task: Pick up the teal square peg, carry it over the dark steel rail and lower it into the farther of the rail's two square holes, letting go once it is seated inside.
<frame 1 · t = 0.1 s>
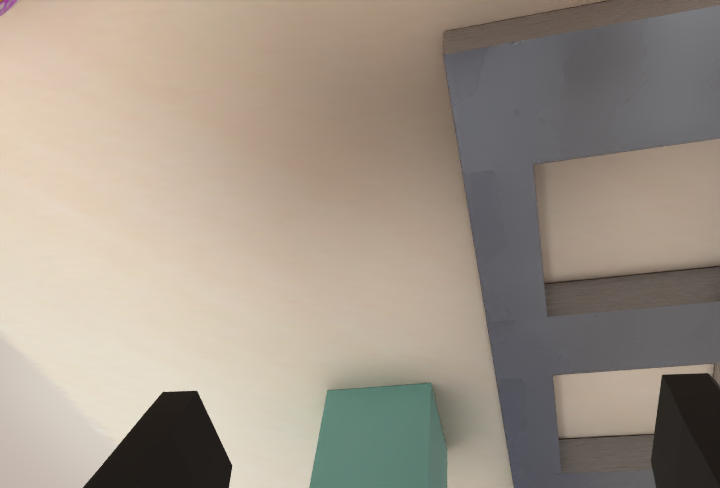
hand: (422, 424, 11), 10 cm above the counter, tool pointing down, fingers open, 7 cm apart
teal peg: (388, 420, 27), on the counter
steel rail: (631, 306, 22), on the counter
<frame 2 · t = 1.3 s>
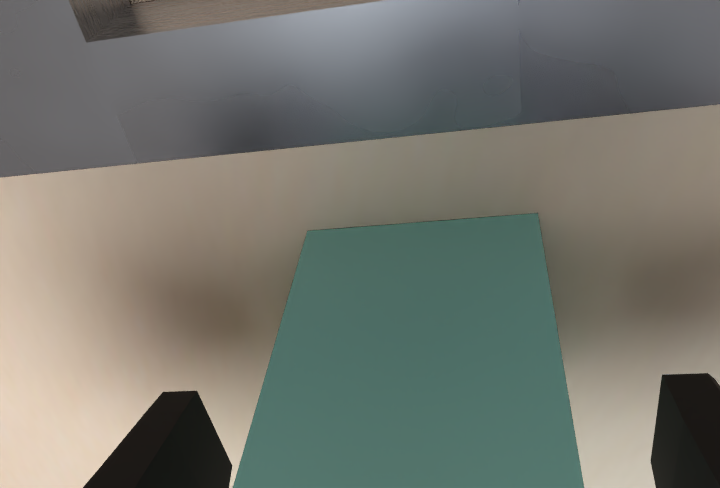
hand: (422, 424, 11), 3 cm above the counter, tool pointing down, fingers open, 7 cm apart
teal peg: (431, 307, 13), on the counter
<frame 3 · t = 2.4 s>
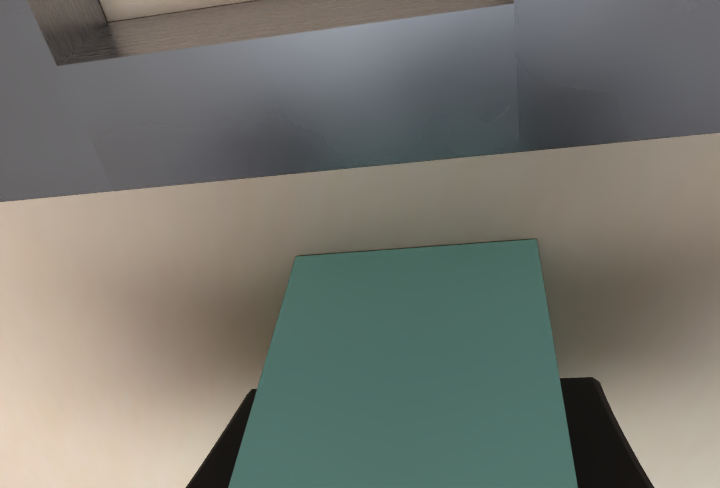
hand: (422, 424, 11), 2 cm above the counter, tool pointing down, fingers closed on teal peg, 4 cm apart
teal peg: (425, 334, 12), on the counter, touching gripper
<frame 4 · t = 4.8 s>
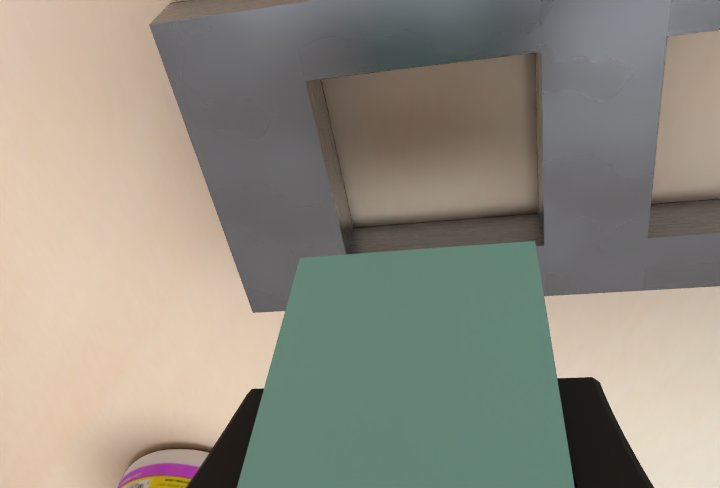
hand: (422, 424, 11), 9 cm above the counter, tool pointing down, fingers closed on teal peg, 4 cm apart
teal peg: (427, 333, 13), point 7 cm above the counter, touching gripper
steel rail: (588, 123, 17), on the counter
supplement bottle: (201, 483, 30), on the counter
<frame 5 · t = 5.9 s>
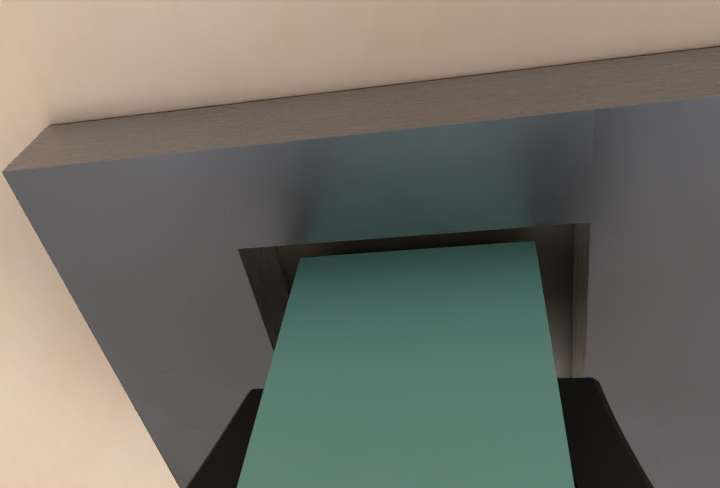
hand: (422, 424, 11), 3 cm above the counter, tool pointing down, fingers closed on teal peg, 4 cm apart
teal peg: (427, 332, 13), point 1 cm above the counter, touching gripper
steel rail: (647, 289, 12), on the counter
when the fingers open (3 cm above the counter, at t = 7.0 s): teal peg stays where it is, resting in steel rail.
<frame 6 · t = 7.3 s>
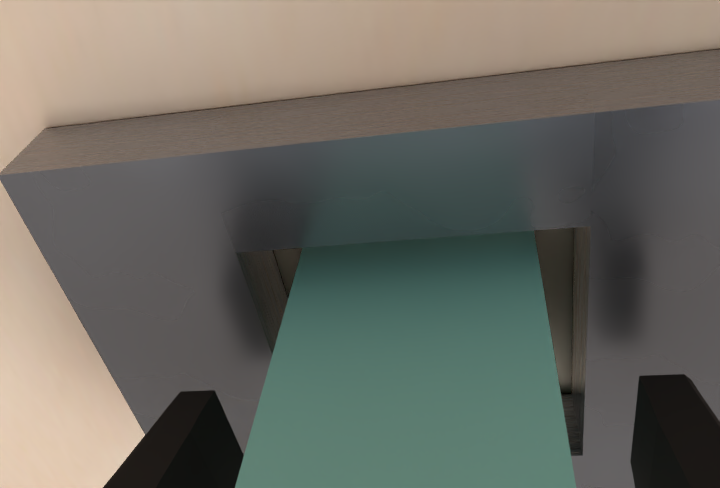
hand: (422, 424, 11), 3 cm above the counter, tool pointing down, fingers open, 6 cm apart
teal peg: (428, 309, 13), resting in steel rail
steel rail: (648, 292, 12), on the counter
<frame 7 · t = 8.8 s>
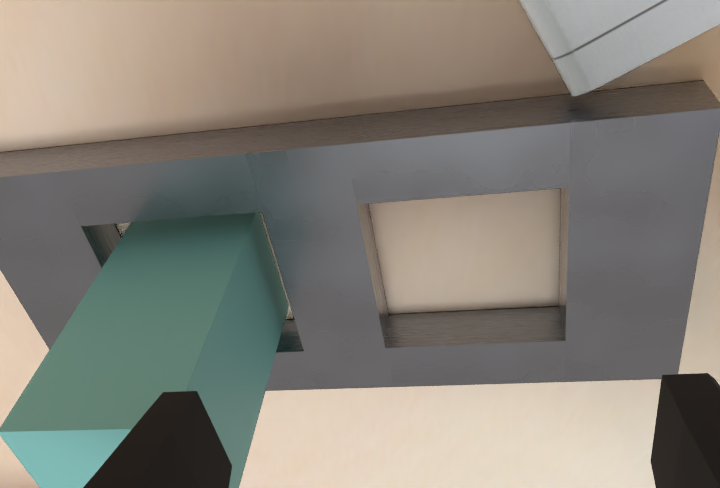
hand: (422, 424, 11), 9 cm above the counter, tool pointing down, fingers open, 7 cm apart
teal peg: (214, 263, 22), resting in steel rail
steel rail: (334, 252, 21), on the counter
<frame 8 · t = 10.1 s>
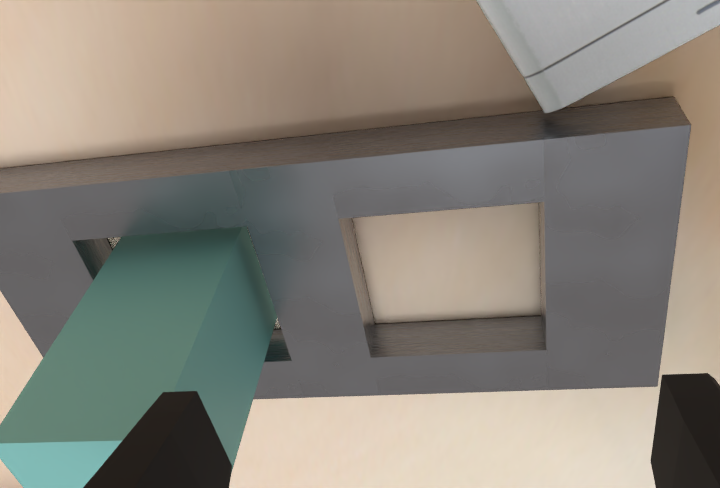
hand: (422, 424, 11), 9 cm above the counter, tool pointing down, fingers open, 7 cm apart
teal peg: (203, 275, 22), resting in steel rail
steel rail: (320, 264, 21), on the counter
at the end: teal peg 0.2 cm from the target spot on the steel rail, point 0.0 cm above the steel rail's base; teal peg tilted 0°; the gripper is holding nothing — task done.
